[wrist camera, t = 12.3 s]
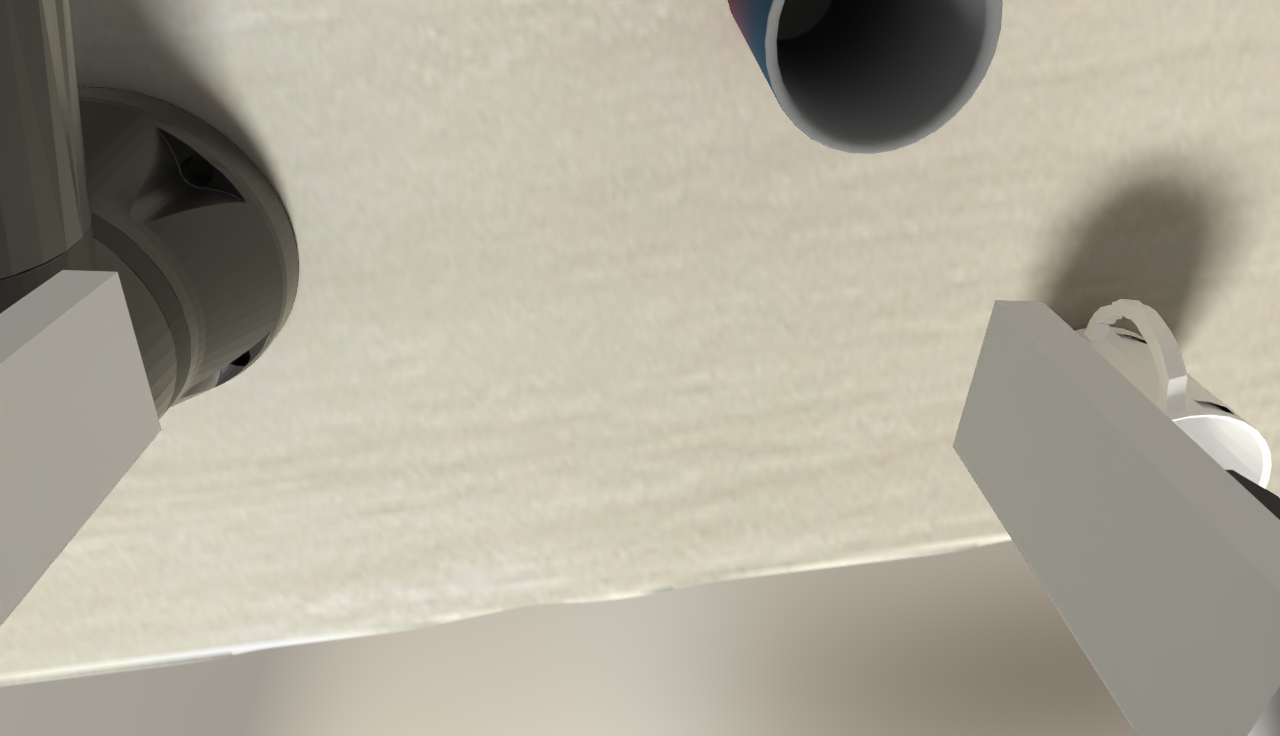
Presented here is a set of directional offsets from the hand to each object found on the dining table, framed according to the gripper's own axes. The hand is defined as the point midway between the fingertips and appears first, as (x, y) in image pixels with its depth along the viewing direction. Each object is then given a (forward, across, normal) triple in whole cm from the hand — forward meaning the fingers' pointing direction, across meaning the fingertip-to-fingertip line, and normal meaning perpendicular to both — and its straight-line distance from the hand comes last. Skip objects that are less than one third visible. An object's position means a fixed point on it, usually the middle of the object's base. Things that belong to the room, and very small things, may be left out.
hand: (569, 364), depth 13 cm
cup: (+29, +8, +3) cm, 30 cm away
